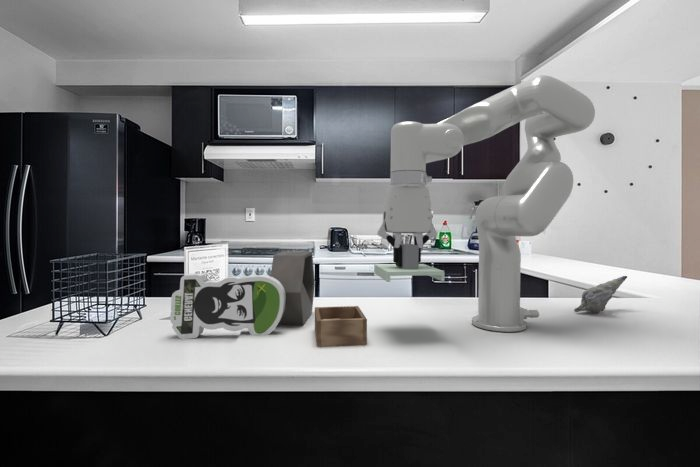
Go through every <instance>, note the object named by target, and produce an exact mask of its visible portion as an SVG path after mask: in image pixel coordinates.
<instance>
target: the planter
mask: <svg viewBox="0 0 700 467" xmlns="http://www.w3.org/2000/svg"><path fill="white" fill-rule="evenodd" d="M313 258H314V257H313V251H282V252H279V253H275V254H273V257H272V264H271V268H270V269H271V270H270V275H269V276H270V277H273V278H275V279H277V280H278V281H279V282H280V283H281V284H282V286H283V288H284V290H285V295H286V302H285V310H284V313H283V316H282V318H281V320H280V322H279V323H278V325H277V326H305V325H306V324H307V321H308V320H309V319H310V318H311V316H312V314H313V307H314V306H313V305H314V297H315V296H314V294H315V283H316V282H315V272H314V260H313Z"/></svg>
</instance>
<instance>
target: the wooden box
mask: <svg viewBox="0 0 700 467" xmlns="http://www.w3.org/2000/svg"><path fill="white" fill-rule="evenodd" d="M324 319H327V320H324ZM314 333H315V343H316V348H326V347H327V348H329V347H331V348H332V347H334V348H335V347H351V346H353V347H354V346H355V347H357V346H367V345H368V338H367V337H368V318H366V316H365V314H364V312H363V311H362V310H361V307H360V306H359V305H348V306H347V305H346V306H342V305H341V306H315V307H314Z"/></svg>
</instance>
